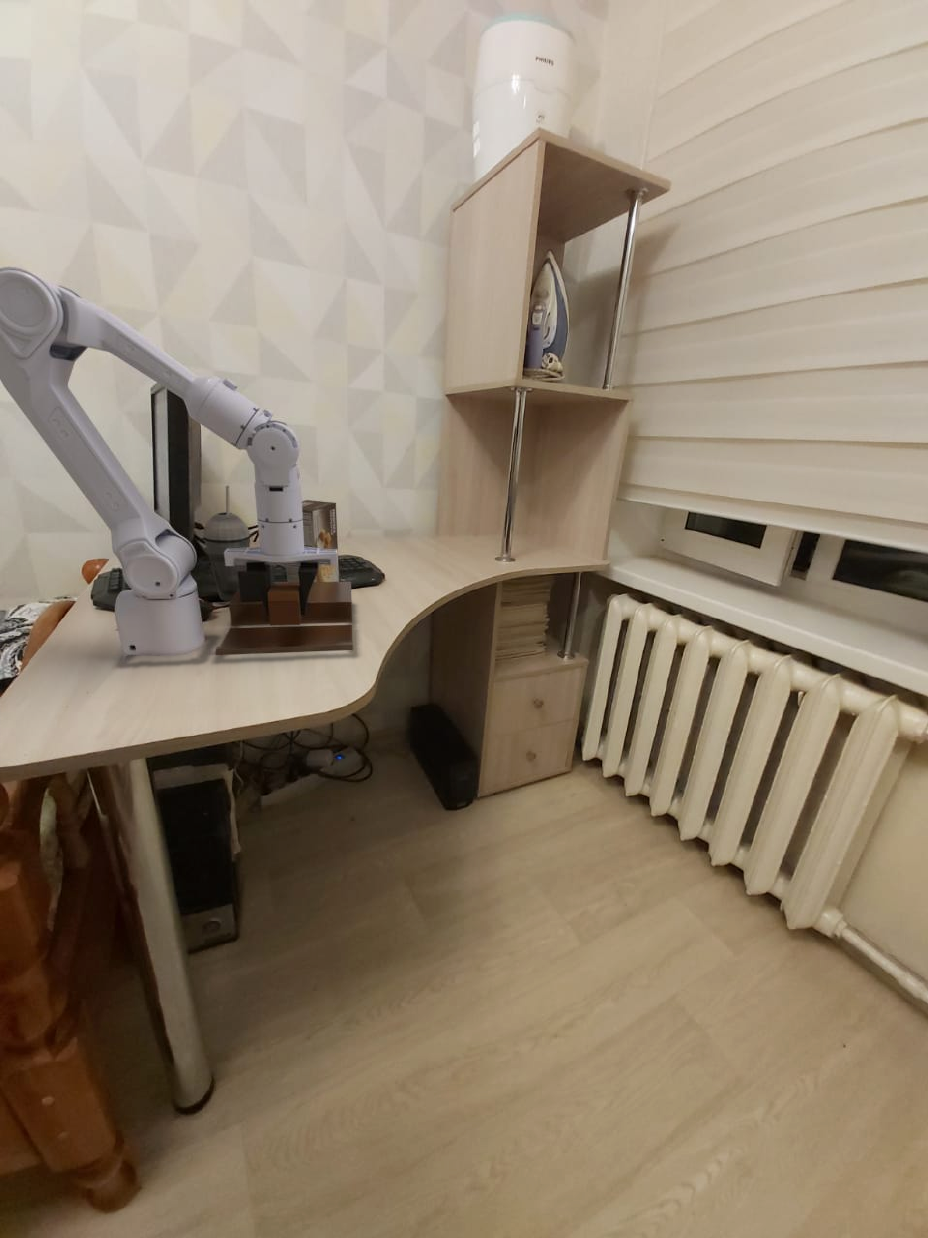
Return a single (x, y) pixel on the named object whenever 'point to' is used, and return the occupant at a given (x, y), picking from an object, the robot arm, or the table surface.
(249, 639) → the shoe stand
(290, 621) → the brown block
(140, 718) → the table surface
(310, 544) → the coffee box
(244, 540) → the beverage cup
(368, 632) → the table surface
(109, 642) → the table surface
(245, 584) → the dark grey block
